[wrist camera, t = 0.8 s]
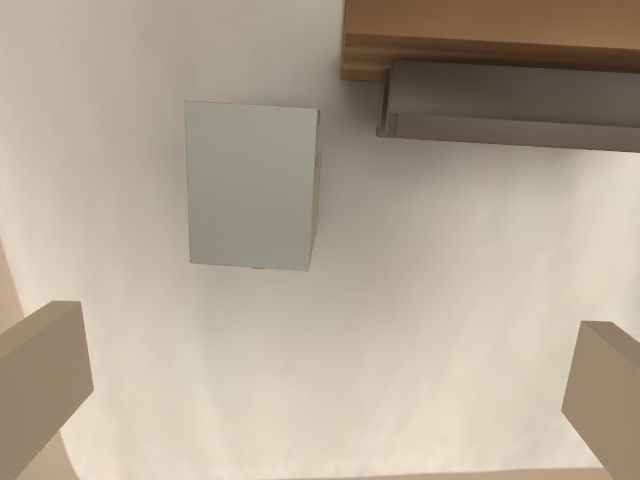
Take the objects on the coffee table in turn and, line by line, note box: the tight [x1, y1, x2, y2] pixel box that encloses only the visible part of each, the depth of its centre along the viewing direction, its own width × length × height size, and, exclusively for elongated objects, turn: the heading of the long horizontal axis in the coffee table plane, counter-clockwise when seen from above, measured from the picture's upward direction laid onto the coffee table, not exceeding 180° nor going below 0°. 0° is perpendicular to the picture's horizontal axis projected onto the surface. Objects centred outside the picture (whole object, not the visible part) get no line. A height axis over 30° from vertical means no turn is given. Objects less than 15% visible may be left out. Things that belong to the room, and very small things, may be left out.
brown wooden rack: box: [341, 0, 640, 153], centre depth 19 cm, size 8×18×16 cm, turn 87°
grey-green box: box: [185, 101, 321, 271], centre depth 24 cm, size 9×6×9 cm
